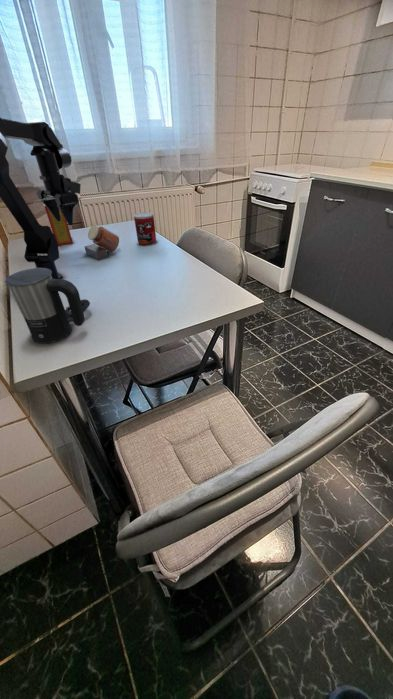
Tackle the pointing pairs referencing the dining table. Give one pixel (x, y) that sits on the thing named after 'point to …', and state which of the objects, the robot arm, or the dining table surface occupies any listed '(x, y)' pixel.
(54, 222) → the baking soda box
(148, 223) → the canned food
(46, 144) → the robot arm
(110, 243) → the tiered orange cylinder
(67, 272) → the dining table surface
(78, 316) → the milk frother
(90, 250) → the walnut block
